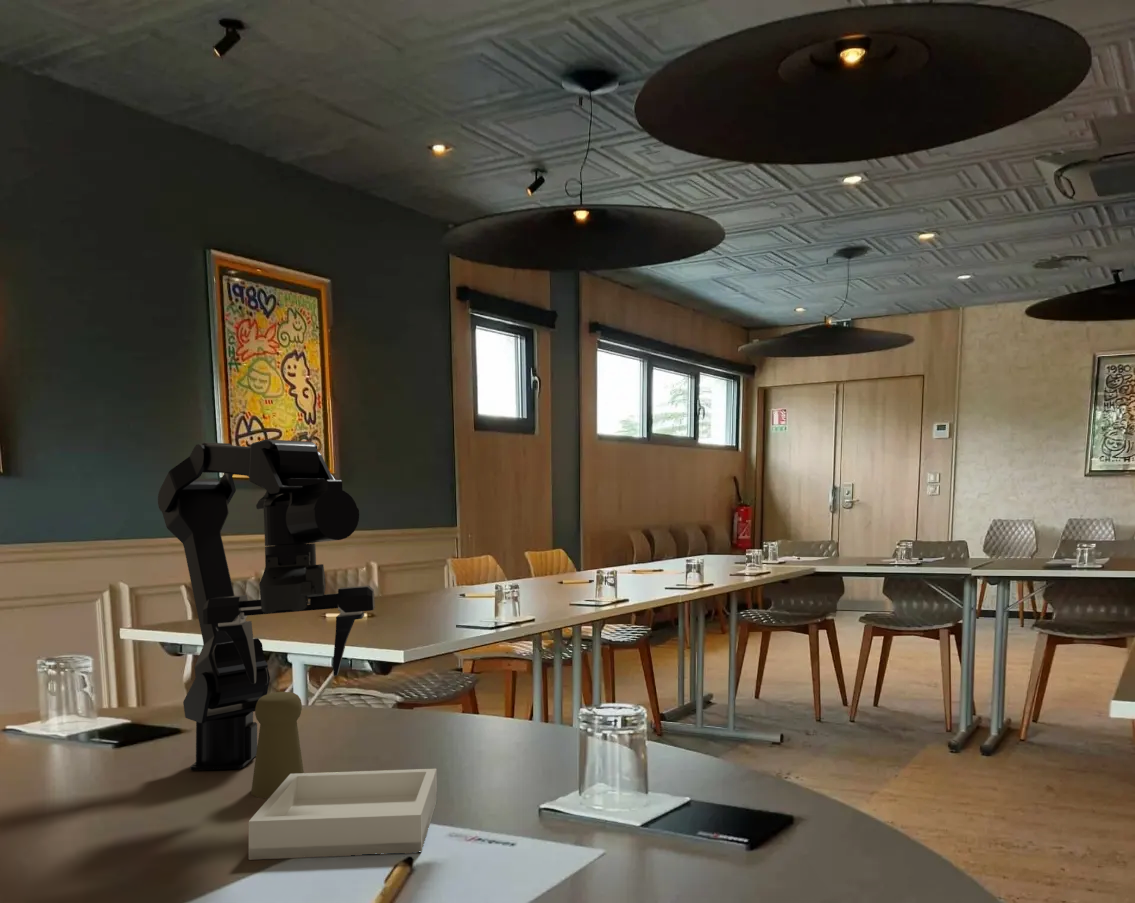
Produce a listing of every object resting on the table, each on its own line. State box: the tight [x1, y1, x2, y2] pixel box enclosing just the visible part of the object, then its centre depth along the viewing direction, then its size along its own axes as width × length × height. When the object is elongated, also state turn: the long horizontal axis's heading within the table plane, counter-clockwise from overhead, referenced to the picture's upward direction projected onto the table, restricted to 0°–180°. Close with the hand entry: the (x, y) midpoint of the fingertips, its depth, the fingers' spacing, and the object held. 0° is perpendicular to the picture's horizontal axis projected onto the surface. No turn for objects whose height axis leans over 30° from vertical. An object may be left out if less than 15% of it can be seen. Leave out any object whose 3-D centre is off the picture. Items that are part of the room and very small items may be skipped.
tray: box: [248, 768, 438, 861], centre depth 86 cm, size 16×14×4 cm
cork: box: [250, 691, 305, 799], centre depth 99 cm, size 6×6×11 cm
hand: (295, 679), depth 98 cm, fingers open, 9 cm apart
